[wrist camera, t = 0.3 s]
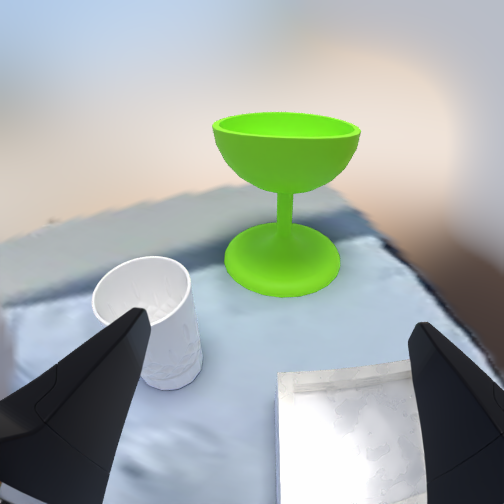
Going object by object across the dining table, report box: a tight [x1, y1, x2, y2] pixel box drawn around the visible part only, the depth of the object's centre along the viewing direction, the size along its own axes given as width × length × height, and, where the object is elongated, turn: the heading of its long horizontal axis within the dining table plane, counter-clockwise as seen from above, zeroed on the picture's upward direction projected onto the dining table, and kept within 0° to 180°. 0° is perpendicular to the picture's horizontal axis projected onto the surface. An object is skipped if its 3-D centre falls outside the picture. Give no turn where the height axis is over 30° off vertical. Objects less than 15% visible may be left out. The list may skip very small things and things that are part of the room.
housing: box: [274, 359, 427, 504], centre depth 15 cm, size 12×12×6 cm
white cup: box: [92, 256, 203, 390], centre depth 23 cm, size 8×8×10 cm
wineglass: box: [212, 112, 361, 298], centre depth 34 cm, size 16×16×18 cm
